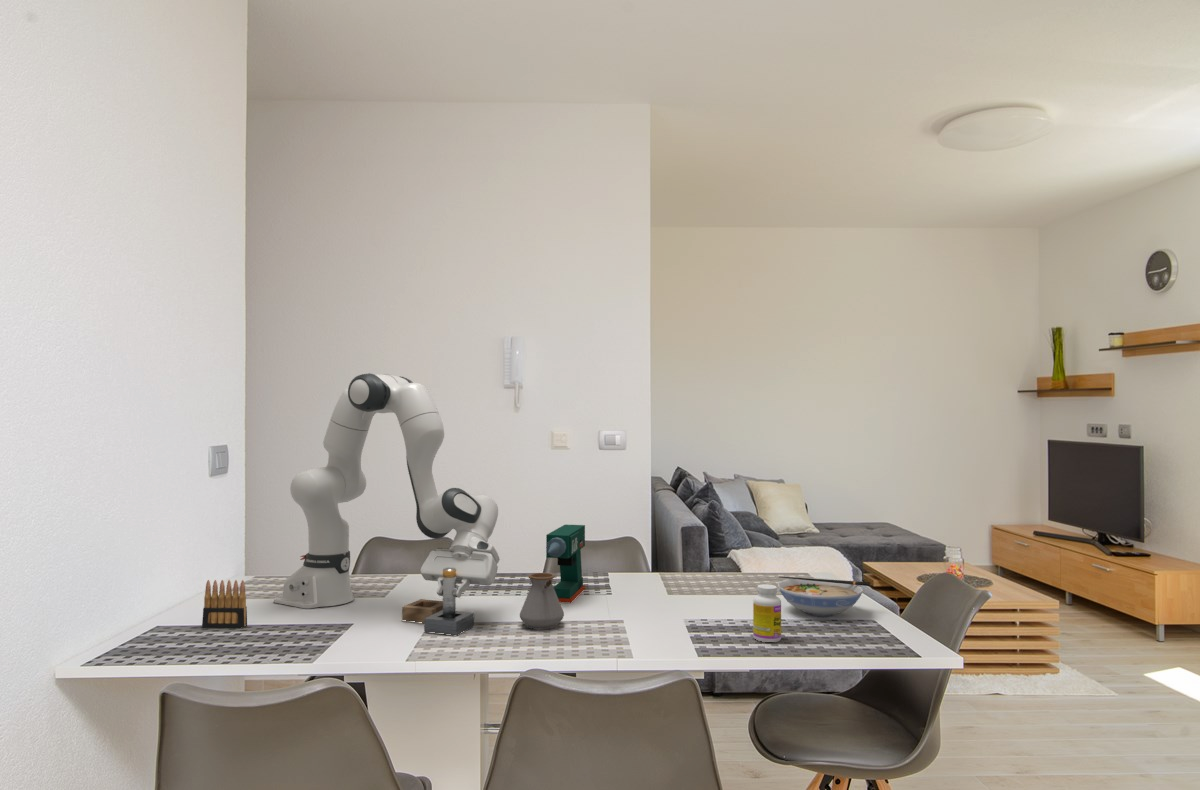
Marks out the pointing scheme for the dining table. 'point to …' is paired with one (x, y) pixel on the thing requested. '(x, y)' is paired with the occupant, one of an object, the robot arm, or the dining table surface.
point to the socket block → (449, 623)
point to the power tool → (567, 559)
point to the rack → (421, 610)
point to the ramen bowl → (821, 594)
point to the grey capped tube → (449, 592)
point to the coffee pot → (541, 603)
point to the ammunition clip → (224, 606)
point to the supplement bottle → (767, 614)
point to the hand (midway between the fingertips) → (448, 595)
